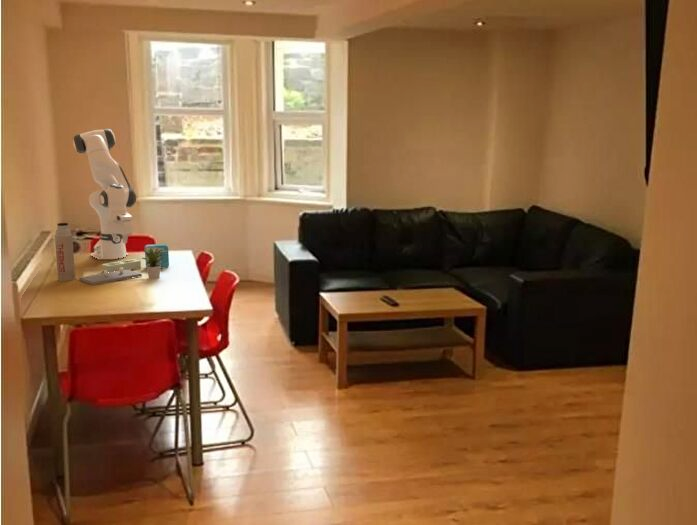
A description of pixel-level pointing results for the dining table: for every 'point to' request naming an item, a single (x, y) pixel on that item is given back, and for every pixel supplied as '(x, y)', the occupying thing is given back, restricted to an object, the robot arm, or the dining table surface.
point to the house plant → (153, 263)
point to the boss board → (109, 276)
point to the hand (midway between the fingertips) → (120, 242)
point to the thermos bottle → (64, 253)
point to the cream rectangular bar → (121, 265)
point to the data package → (166, 256)
